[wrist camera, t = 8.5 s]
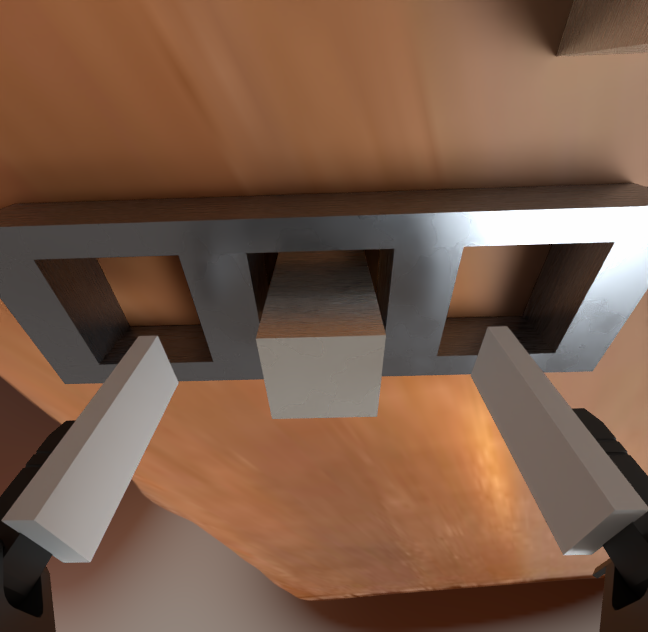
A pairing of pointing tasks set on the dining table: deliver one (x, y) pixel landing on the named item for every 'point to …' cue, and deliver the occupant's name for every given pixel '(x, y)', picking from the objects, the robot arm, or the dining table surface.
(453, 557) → the dining table surface
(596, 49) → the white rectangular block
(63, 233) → the grey metal flat frame
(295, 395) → the grey rectangular block
